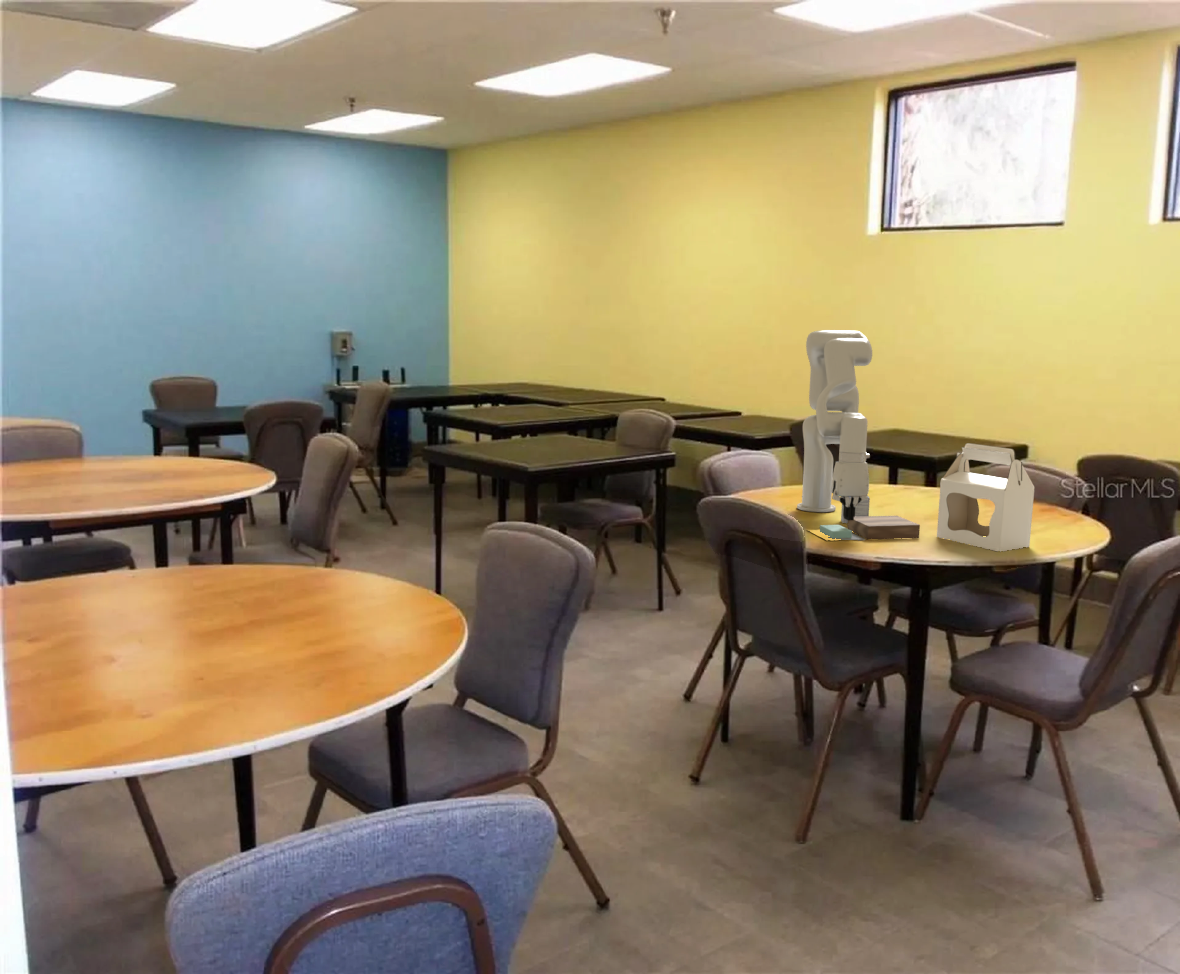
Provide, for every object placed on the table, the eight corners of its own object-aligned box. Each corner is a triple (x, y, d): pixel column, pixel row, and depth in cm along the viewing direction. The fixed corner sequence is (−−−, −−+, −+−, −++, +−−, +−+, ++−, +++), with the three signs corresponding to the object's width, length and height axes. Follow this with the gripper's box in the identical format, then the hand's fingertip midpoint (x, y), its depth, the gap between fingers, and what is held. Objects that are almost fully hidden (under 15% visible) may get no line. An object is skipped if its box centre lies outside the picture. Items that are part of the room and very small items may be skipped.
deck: (847, 529, 310) (847, 516, 309) (896, 528, 313) (897, 515, 312) (867, 539, 296) (868, 526, 296) (918, 538, 299) (919, 524, 299)
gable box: (935, 537, 301) (942, 442, 297) (965, 532, 308) (972, 440, 304) (1000, 552, 283) (1008, 452, 278) (1030, 547, 290) (1039, 449, 285)
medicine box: (866, 521, 323) (867, 494, 321) (868, 524, 318) (870, 497, 317) (840, 521, 324) (842, 494, 322) (842, 523, 319) (844, 496, 318)
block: (838, 524, 306) (838, 531, 306) (819, 525, 305) (819, 531, 305) (852, 530, 297) (851, 537, 298) (832, 531, 296) (832, 538, 296)
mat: (806, 530, 308) (806, 529, 308) (843, 529, 310) (843, 528, 310) (826, 541, 294) (826, 540, 293) (865, 540, 296) (865, 539, 296)
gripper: (870, 455, 304) (866, 516, 307) (822, 456, 301) (819, 517, 304) (881, 459, 297) (878, 521, 300) (833, 460, 294) (830, 522, 297)
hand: (848, 519), depth 302 cm, fingers closed
